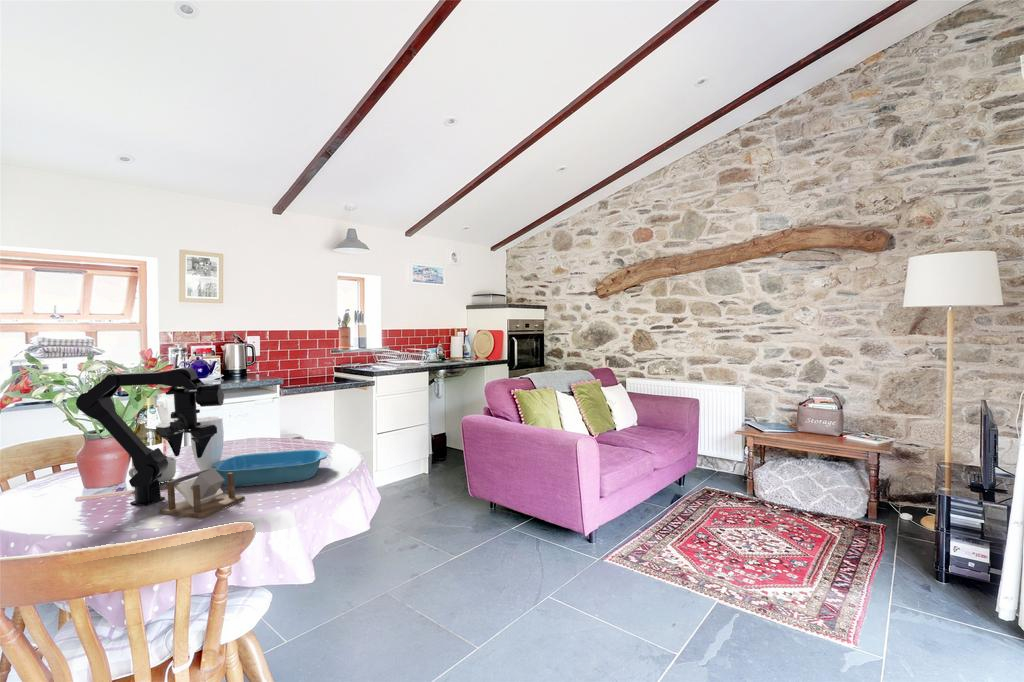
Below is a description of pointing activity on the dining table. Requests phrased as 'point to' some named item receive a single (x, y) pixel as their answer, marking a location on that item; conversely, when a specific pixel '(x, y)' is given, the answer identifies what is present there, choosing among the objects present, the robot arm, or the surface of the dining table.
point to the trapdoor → (188, 492)
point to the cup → (210, 444)
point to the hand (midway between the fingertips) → (188, 456)
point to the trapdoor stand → (199, 508)
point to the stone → (208, 483)
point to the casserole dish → (270, 467)
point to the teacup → (167, 474)
